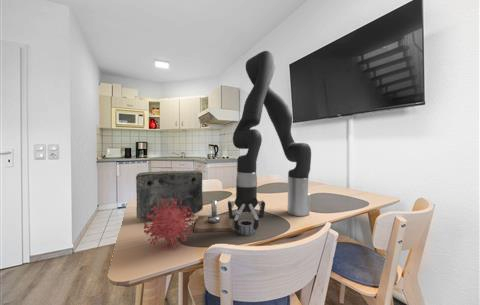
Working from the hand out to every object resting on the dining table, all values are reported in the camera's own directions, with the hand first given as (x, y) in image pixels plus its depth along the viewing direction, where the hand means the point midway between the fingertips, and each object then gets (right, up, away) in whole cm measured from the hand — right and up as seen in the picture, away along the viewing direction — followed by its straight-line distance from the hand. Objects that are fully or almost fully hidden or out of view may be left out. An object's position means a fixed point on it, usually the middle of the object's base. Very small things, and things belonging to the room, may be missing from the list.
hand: (245, 229), depth 74 cm
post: (-13, +1, +7) cm, 14 cm away
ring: (0, -1, 0) cm, 1 cm away
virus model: (-24, -1, -11) cm, 27 cm away
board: (-13, -1, +7) cm, 14 cm away
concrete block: (-32, 0, +14) cm, 35 cm away
